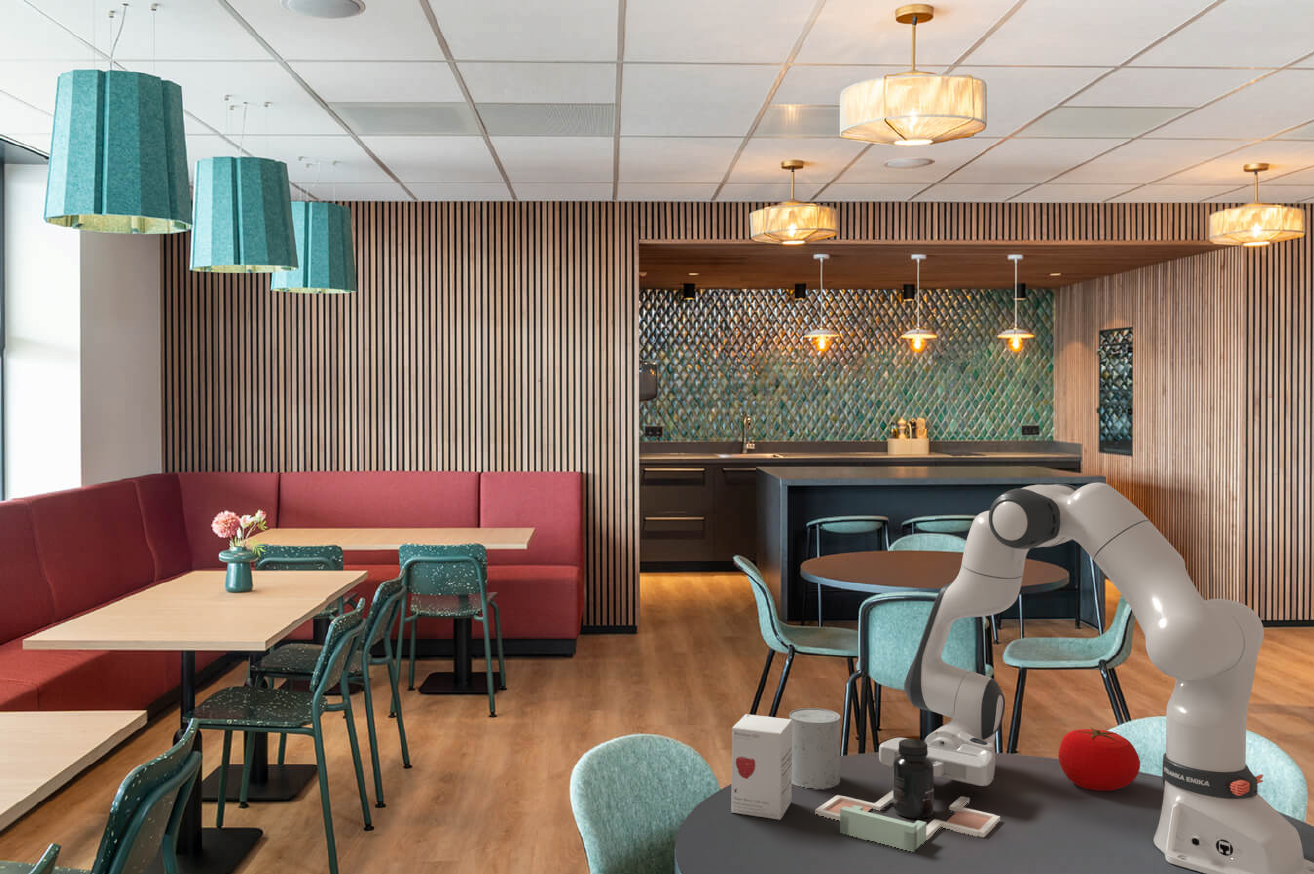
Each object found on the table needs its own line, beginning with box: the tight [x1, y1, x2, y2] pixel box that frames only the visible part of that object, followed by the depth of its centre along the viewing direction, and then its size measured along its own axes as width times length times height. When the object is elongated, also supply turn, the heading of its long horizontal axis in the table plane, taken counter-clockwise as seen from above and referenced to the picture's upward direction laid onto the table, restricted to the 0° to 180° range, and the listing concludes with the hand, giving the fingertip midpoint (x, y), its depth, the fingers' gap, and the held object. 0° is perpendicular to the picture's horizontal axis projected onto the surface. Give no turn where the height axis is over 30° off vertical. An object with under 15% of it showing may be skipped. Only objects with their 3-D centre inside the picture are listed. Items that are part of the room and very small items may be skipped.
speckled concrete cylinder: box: [788, 707, 842, 790], centre depth 189 cm, size 10×10×12 cm
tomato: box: [1058, 727, 1141, 792], centre depth 186 cm, size 14×13×10 cm
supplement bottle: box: [892, 738, 935, 820], centre depth 173 cm, size 7×7×12 cm
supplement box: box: [730, 713, 793, 821], centre depth 175 cm, size 9×9×15 cm
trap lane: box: [814, 789, 1001, 853], centre depth 171 cm, size 26×26×4 cm
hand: (919, 772), depth 176 cm, fingers closed, pressing on supplement bottle
